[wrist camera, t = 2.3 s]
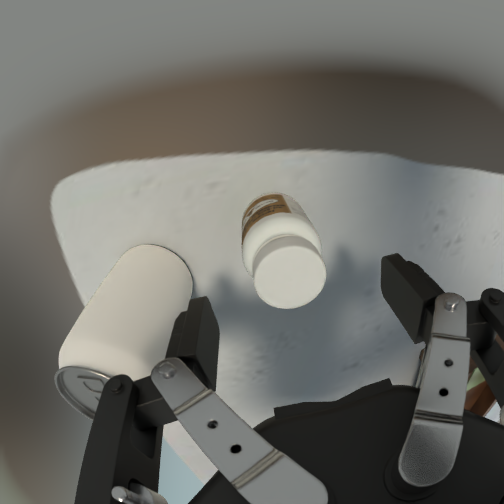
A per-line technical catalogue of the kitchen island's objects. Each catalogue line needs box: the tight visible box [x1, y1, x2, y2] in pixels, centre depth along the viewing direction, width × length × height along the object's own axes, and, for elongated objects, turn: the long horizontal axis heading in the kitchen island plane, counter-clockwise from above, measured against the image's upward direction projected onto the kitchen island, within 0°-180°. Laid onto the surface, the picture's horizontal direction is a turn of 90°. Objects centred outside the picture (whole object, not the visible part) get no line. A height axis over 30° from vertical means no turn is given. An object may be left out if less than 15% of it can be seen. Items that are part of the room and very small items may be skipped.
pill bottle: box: [242, 193, 326, 309], centre depth 16 cm, size 4×4×8 cm
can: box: [55, 245, 193, 420], centre depth 16 cm, size 6×6×12 cm
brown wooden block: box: [420, 334, 504, 417], centre depth 29 cm, size 28×12×9 cm, turn 12°
